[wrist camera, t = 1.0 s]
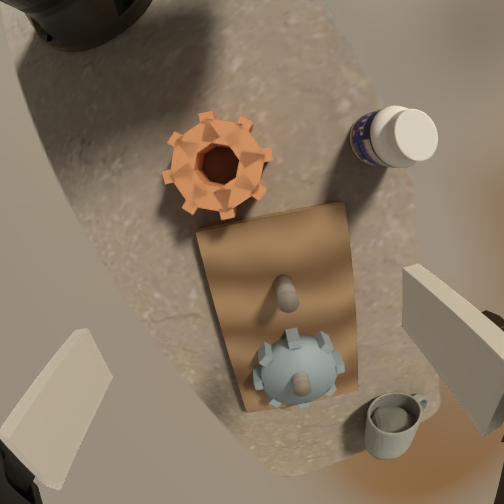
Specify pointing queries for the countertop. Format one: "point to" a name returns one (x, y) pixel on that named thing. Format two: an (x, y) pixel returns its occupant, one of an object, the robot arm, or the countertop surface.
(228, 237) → the walnut board
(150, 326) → the countertop surface
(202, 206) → the terracotta gear
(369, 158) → the pill bottle
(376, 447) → the ceramic mug
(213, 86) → the countertop surface
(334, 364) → the slate gear
